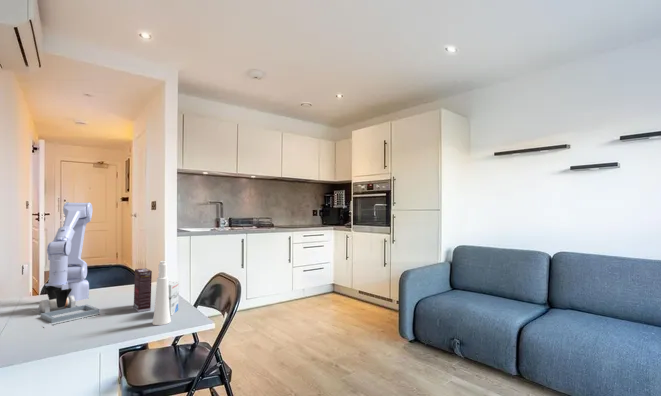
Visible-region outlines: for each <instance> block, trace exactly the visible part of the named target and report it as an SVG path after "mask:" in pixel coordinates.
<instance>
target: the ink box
mask: <svg viewBox="0 0 661 396" xmlns="http://www.w3.org/2000/svg"><path fill="white" fill-rule="evenodd" d="M179 282H180V281H178V280H172V281H171V280H170V281H169V280H168V287H169V311H170V317H172V315H174V314H175V313H177V311H179V287H180V286H179V284H180V283H179Z"/></svg>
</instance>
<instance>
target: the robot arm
mask: <svg viewBox="0 0 661 396" xmlns="http://www.w3.org/2000/svg"><path fill="white" fill-rule="evenodd" d="M62 210H63V214H64V217H65V218H64V221H63V225H62V226H60V227H59V228H58V229H57V231H56V234H55V236H54V238H53V240H52V241H51V242H49V243H48V245H47V249H46V252H47V259H48V261H49V266H48V267H49V269H48V270H49V272H48V280H47V282H48V283H45V285H44V286H45V287H44V288H43V289H44V290H45V291H46V294H47V298H48V300H52V299H56V302H57V307H58V308H61V307H65V304H66V300H67V297H68V296H71V295H73V296H74V298H75V301H76V302H78V301H82V300H83V301H84V300H88V299H89V298H90V297H89V295H90V282H89V281H88V280H87V279H86V278H87V275H88V263H87V262H86V261H85V260H84V259H82V253H83V252H82V251H83V247H84V241H85V240H84V239H85V233H86V228H87V224H88V223H90V222H91V221H92V216H93V204H92V203H91V202H65V203H64V204H63V208H62Z"/></svg>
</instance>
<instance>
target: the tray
mask: <svg viewBox="0 0 661 396" xmlns="http://www.w3.org/2000/svg"><path fill="white" fill-rule="evenodd" d="M76 306H77V307H72V308H67V309H62V310H57V311H51V312H46V313H41V315H40V318H41V319H43V320H45V321H46V322H48V323H51V324H52V326H56V325H59V324H64V323H68V322H69V323H70V322H74V321H77V320H82V318H83V319H86V318H91V317H96V316H100V308H97V307H96V306H92V305H91V304H90V305H89V304H83V305H76ZM83 310H86V311H83ZM80 311H81V312H80ZM73 312H75V313H73ZM68 313H71V314H68ZM64 314H67V315H64ZM57 315H61V316H57ZM54 316H57V317H54ZM58 322H59V323H58Z"/></svg>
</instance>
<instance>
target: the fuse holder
mask: <svg viewBox="0 0 661 396" xmlns="http://www.w3.org/2000/svg"><path fill="white" fill-rule="evenodd" d="M76 302H77V301H71V307H69V308H72V307H77V306H78V305H76ZM67 308H68V307H66V308H60V309H55V310H50V305H48V306H45V312H43V313H46V312H51V311H57V310H62V309H67ZM32 313H35V314H37V315H39V316H41V313H42V312H41V310H40V302H39V303H38V309H36V310H32Z"/></svg>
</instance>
